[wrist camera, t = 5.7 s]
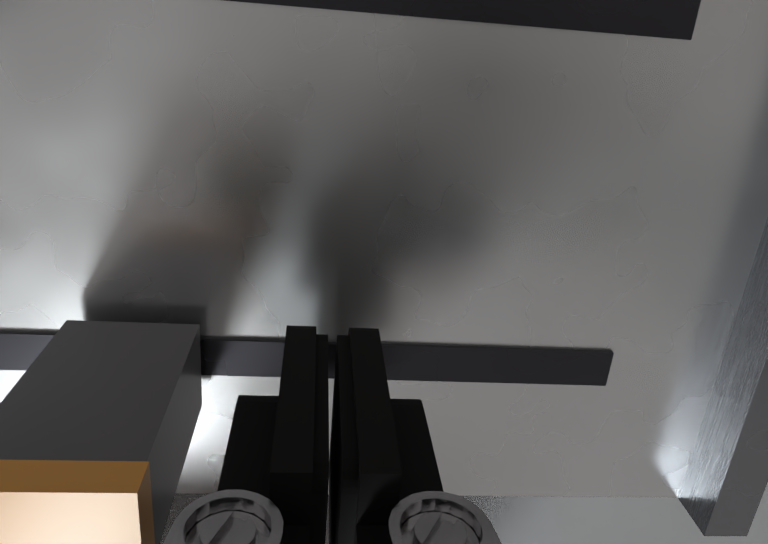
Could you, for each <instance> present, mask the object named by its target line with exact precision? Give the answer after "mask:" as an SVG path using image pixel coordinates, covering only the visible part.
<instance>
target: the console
mask: <svg viewBox="0 0 768 544" xmlns="http://www.w3.org/2000/svg"><path fill="white" fill-rule="evenodd" d="M66 320H82V321H111V322H140V323H169V324H199V325H200V352H201V384H202V407H201V410H200V414H199V417H198V420H197V423H196V427H195V430H194V433H193V436H192V440H191V443H190V446H189V450H188V453H187V456H186V459H185V463H184V466H183V469H182V473H181V476H180V479H179V482H178V486H177V489H176V492H175V494H209V493H213V492H217V490H218V485H219V481H220V476H221V471H222V467H223V462H224V458H225V453H226V448H227V444H228V439H229V434H230V430H231V425H232V421H233V416H234V411H235V407H236V402H237V398H238V396H239V395H261V396H279V388H280V379H281V371H282V362H283V353H284V345H285V336H286V327H287V325H291V326H316V334H327V335H328V387H329V455H330V439H331V423H332V407H333V390H334V374H335V358H336V343H337V335H348V331H349V328H378V329H379V332H380V338H381V344H382V351H383V357H384V363H385V369H386V375H387V382H388V388H389V394H390V398H391V399H420V400H421V401H422V404H423V407H424V411H425V415H426V420H427V424H428V428H429V432H430V436H431V441H432V445H433V449H434V453H435V457H436V462H437V466H438V470H439V474H440V478H441V483H442V487H443V491H444V492H447V493H451V494H455V495H458V496H545V497H671V498H678V499H679V500H680V502H681V503H682V505H683V506H684V507H685V509H686V510H687V512H688V513H689V515H690V516H691V517H692V519H693V520H694V522H695V523H696V525H697V526H698V528H699V529H700V530H701V532H702V533H703V535H704V536H747V534H748V532H749V529H750V526H751V524H752V521H753V519H754V516H755V513H756V511H757V508H758V506H759V503H760V500H761V498H762V495H763V492H764V490H765V487H766V485H767V482H768V0H0V403H1V402H2V400H3V399H4V398H5V397H6V395H7V394H8V393H9V392H10V390H11V389H12V388H13V387H14V385H15V384H16V383H17V382H18V380H19V379H20V378H21V377H22V375H23V374H24V373H25V372H26V370H27V369H28V368H29V367H30V365H31V364H32V363H33V362H34V360H35V359H36V358H37V357H38V355H39V354H40V353H41V352H42V350H43V349H44V348H45V347H46V345H47V344H48V343H49V342H50V340H51V339H52V338H53V337H54V335H55V334H56V333H57V332H58V330H59V329H60V328H61V327H62V325H63V324H64V323H65V322H66ZM328 495H329V486H328Z"/></svg>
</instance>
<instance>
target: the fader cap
mask: <svg viewBox="0 0 768 544" xmlns="http://www.w3.org/2000/svg"><path fill="white" fill-rule="evenodd" d="M201 407H202V384H201V352H200V325H199V324H169V323H140V322H111V321H82V320H66V322H65V323H64V324H63V325H62V327H61V328H60V329H59V330H58V332H57V333H56V334H55V335H54V337H53V338H52V339H51V340H50V342H49V343H48V344H47V345H46V347H45V348H44V349H43V350H42V352H41V353H40V354H39V355H38V357H37V358H36V359H35V360H34V362H33V363H32V364H31V365H30V367H29V368H28V369H27V370H26V372H25V373H24V374H23V375H22V377H21V378H20V379H19V380H18V382H17V383H16V384H15V385H14V387H13V388H12V389H11V390H10V392H9V393H8V394H7V395H6V397H5V398H4V399H3V400H2V402H1V403H0V544H160V541H161V538H162V535H163V532H164V528H165V525H166V522H167V518H168V515H169V512H170V509H171V505H172V502H173V499H174V496H175V492H176V489H177V486H178V482H179V479H180V476H181V473H182V469H183V466H184V463H185V459H186V456H187V453H188V450H189V446H190V443H191V440H192V436H193V433H194V430H195V427H196V423H197V420H198V417H199V414H200V410H201Z"/></svg>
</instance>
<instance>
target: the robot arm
mask: <svg viewBox="0 0 768 544" xmlns="http://www.w3.org/2000/svg"><path fill="white" fill-rule="evenodd" d="M328 486H329V544H501V542H500V540H499V538H498V536H497V534H496V532H495V530H494V528H493V526H492V524H491V522H490V521H489V519H488V518H487V517H486V515H485V514H484V512H483V511H482V510H481V509H479V508H478V507H477V506H476V505H474V504H473V503H472V502H471V501H469V500H466V499H464V498H462V497H460V496H458V495H455V494H451V493H447V492H444V491H443V487H442V483H441V478H440V474H439V470H438V466H437V462H436V457H435V453H434V449H433V445H432V441H431V436H430V432H429V428H428V424H427V420H426V415H425V411H424V407H423V404H422V401H421V400H420V399H391V398H390V394H389V388H388V382H387V375H386V369H385V363H384V357H383V351H382V344H381V338H380V332H379V329H378V328H349V331H348V335H337V343H336V358H335V374H334V390H333V407H332V423H331V439H330V455H329V387H328V335H327V334H316V326H291V325H287V327H286V336H285V345H284V353H283V362H282V371H281V379H280V388H279V396H261V395H239V396H238V398H237V402H236V407H235V411H234V416H233V421H232V425H231V430H230V434H229V439H228V444H227V448H226V453H225V458H224V462H223V467H222V471H221V476H220V481H219V485H218V490H217V492H213V493H209V494H207V495H205V496H202V497H200V498H198V499H196V500H194V501H193V502H191V503H190V504H189V505H188V506H186V507H185V508H184V509H182V511H181V512H180V514H179V515H178V516H177V518H176V519H175V520H174V522H173V524H172V526H171V528H170V530H169V532H168V534H167V536H166V538H165V540H164V542H163V544H325V535H326V519H327V503H328Z"/></svg>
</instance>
